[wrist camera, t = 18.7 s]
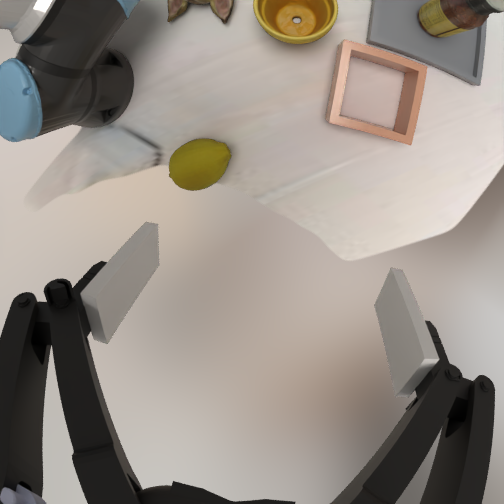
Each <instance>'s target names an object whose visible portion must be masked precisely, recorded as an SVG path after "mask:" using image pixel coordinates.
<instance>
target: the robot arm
mask: <svg viewBox="0 0 504 504" xmlns="http://www.w3.org/2000/svg"><path fill="white" fill-rule="evenodd" d="M139 1H140V0H0V29H9V30H10V31H11V34H12V36H13V39H14V41H15V42H16V43H19V44H22V46H21V48H20V50H19V52H18V54H17V56H16V58H11V59H8V60H7V61H5V62H3V63H2V64H1V65H0V135H1V136H2V137H3V138H4V139H6V140H8V141H11V142H19V141H22V140H25V139H33V138H35V137H37V136H40V135H43V134H45V133H48V132H51V131H54V130H57V129H59V128H63V127H66V126H69V125H72V124H73V125H78V126H82V127H87V128H95V127H100V126H103V125H107V124H109V123H111V122H113V121H114V120H116V119H117V118H118V117H119V116H120V115H121V114H122V113H123V112H124V110H125V109H126V107H127V105H128V103H129V101H130V99H131V96H132V92H133V72H132V69H131V66H130V64H129V62H128V60H127V59H126V58H125V57H124V56H123V55H122V54H121V53H120V52H118V51H116V50H113V49H107V48H105V47H106V46H107V44H108V43H109V42H110V40H111V39H112V37H113V36H114V34H115V33H116V32H117V30H118V29H119V27H120V26H121V25H122V23H123V22H124V21H125V19H126V20H127V19H128V18H129V16H130V13H131V11H132V10H133V9H134V7H135V6H136V5H137V3H138V2H139ZM158 266H159V246H158V224H155V223H149V222H145V223H144V224H143V225H142V226H141V227H140V228H139V229H138V230H137V231H136V232H135V233H134V235H133V236H132V237H131V238H130V239H129V240H128V241H127V242H126V243H125V244H124V245H123V246H122V247H121V248H120V250H119V251H118V252H117V253H116V254H115V255H114V256H113V257H112V258H111V259H110V260H109V261H108V262H103V261H101V262H99V263H97V264H95V265H93V266H92V267H91V269H89V271H88V272H87V273H86V274H85V275H84V276H83V278H81V279H80V280H79V281H78V283H77V284H76V285H75V286H74V287H73V288H72V285H71V283H70V281H68V280H66V279H55V280H53V281H51V282H49V283H48V284H47V285H46V286H45V288H44V294H45V297H46V300H47V302H37V300H36V297H35V295H34V294H33V293H30V292H25V293H22V294H19V295H18V296H17V297H15V298H14V300H13V302H12V304H11V307H10V310H9V312H8V315H7V318H6V321H5V324H4V328H3V330H2V334H1V337H0V504H46V502H45V501H44V500H43V499H42V490H43V461H42V460H43V459H42V437H43V412H44V398H45V387H46V378H47V369H48V362H49V355H50V349H51V345H52V349H53V356H54V363H55V370H56V376H57V382H58V388H59V392H60V397H61V403H62V407H63V411H64V416H65V420H66V424H67V428H68V432H69V435H70V439H71V442H72V446H73V450H74V453H73V455H72V460H73V464H74V467H75V470H76V473H77V476H78V479H79V482H80V485H81V487H82V490H83V492H84V495H85V498H86V500H87V503H88V504H295V502H292V501H279V500H269V499H263V500H252V501H238V502H233V501H229V500H227V499H225V498H223V497H220V496H218V495H216V494H214V493H211V492H209V491H207V490H205V489H203V488H198V487H194V486H190V485H186V484H182V483H178V482H175V481H173V483H172V486H168V485H165V486H155V487H150V488H146V489H144V490H143V489H142V487H141V485H140V483H139V481H138V479H137V477H136V475H135V474H134V472H133V470H132V468H131V466H130V464H129V462H128V459H127V457H126V455H125V452H124V450H123V448H122V445H121V443H120V440H119V438H118V435H117V433H116V430H115V428H114V425H113V422H112V419H111V416H110V413H109V411H108V408H107V405H106V402H105V399H104V396H103V393H102V389H101V386H100V383H99V379H98V376H97V372H96V369H95V365H94V361H93V358H92V354H91V350H90V346H89V341H88V338H87V336H88V334H89V333H90V332H92V335H93V338H94V340H97V341H100V342H102V343H106V344H108V343H109V341H110V339H111V338H112V336H113V334H114V333H115V331H116V330H117V328H118V326H119V325H120V323H121V322H122V320H123V319H124V317H125V316H126V314H127V313H128V311H129V309H130V308H131V306H132V305H133V303H134V302H135V300H136V299H137V297H138V296H139V294H140V293H141V291H142V290H143V288H144V287H145V285H146V284H147V282H148V281H149V279H150V278H151V276H152V275H153V273H154V272H155V270H156V269H157V268H158ZM374 306H375V309H376V313H377V317H378V321H379V325H380V329H381V333H382V337H383V342H384V346H385V350H386V354H387V359H388V363H389V368H390V372H391V378H392V383H393V388H394V394H395V397H409V396H410V395H411V394H412V393H413V392H414V390H415V391H416V395H417V397H416V398H415V399H414V400H413V401H412V402H411V403H410V404H409V406H408V407H407V408H406V410H407V411H406V412H405V414H404V415H403V417H402V418H401V420H400V421H399V422H398V424H397V425H396V427H395V428H394V430H393V431H392V433H391V434H390V435H389V436H388V438H387V439H386V440H385V442H384V443H383V444H382V446H381V447H380V448H379V450H378V451H377V452H376V453H375V455H374V456H373V457H372V458H371V460H370V461H369V462H368V463H367V465H366V466H365V467H364V468H363V469H362V470H361V471H360V473H359V474H358V475H357V476H356V477H355V478H354V480H353V481H352V482H351V483H350V484H349V485H348V486H347V487H346V488H345V489H344V491H342V492H341V494H340V495H339V496H338V497H337V498H336V499H335V500H334V501H333V502H332V503H330V504H395V503H396V501H397V500H398V498H399V497H400V496H401V494H402V493H403V491H404V490H405V488H406V487H407V486H408V484H409V482H410V481H411V480H412V478H413V476H414V475H415V473H416V472H417V470H418V468H419V467H420V465H421V464H422V462H423V460H424V459H425V457H426V455H427V454H428V452H429V450H430V448H431V447H432V445H433V443H434V441H435V439H436V437H437V435H438V434H439V432H440V430H441V428H442V431H441V435H440V439H439V443H438V447H437V451H436V455H435V459H434V462H433V466H432V469H431V472H430V476H429V479H428V482H427V485H426V488H425V491H424V494H423V496H422V499H421V502H420V504H482V499H483V495H484V490H485V485H486V480H487V475H488V469H489V462H490V455H491V447H492V438H493V426H494V408H495V388H494V384H493V382H492V381H491V380H490V379H489V378H488V377H486V376H484V375H479V376H478V377H477V378H476V379H475V380H474V381H471V380H468V379H465V378H463V377H462V373H461V372H460V370H459V369H458V368H457V367H456V366H454V365H452V364H450V363H449V361H448V358H447V355H446V353H445V350H444V347H443V345H442V344H441V340H440V338H439V335H438V332H437V330H436V328H435V327H434V326H433V325H432V323H431V322H430V321H425V320H424V318H423V315H422V313H421V310H420V308H419V306H418V303H417V301H416V298H415V296H414V294H413V292H412V289H411V287H410V285H409V283H408V281H407V278H406V276H405V274H404V272H403V270H401V269H396V268H391V269H390V271H389V273H388V276H387V278H386V280H385V283H384V285H383V287H382V289H381V292H380V294H379V296H378V298H377V300H376V303H375V305H374Z"/></svg>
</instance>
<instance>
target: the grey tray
mask: <svg viewBox="0 0 504 504" xmlns="http://www.w3.org/2000/svg"><path fill="white" fill-rule="evenodd" d="M428 1H430V0H372V5H371V13H370V20H369V28H368V35H367V41H366V43H369V44H373V45H376V46H379V47H382V48H385V49H388V50H391V51H394V52H397V53H400V54H403V55H406V56H408V57H411V58H414V59H416V60H419V61H421V62H424V63H426V64H429V65H431V66H433V67H436V68H438V69H440V70H443V71H445V72H447V73H449V74H451V75H453V76H456V77H458V78H460V79H462V80H464V81H466V82H468V83H470V84H472V85H477V86H480V83H481V77H482V69H483V61H484V52H485V41H486V24H487V19H486V21H485V22H484V23H483V25H482V26H480V27H476V28H474V29H472V30H468V31H465V32H461V33H458V34H455V35H452V36H449V37H441V38H437V37H433V36H431V35H430V34H428V33H427V32H425V31H424V30H423V29H422V27H421V26H420V24H419V20H418V12H419V10H420V8H421V7H422V5H424V4H425V3H427V2H428Z"/></svg>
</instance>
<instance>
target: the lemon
mask: <svg viewBox="0 0 504 504" xmlns="http://www.w3.org/2000/svg"><path fill="white" fill-rule="evenodd" d="M230 153H231V152H230V150H229V149H228V147H227V145H226V144H225V143H221V142H217V141H215V140H212V139H196V140H193V141H190V142H188V143H186V144H184V145H183V146H181V147H180V148H178V149H177V150H176V151H175V152H174V153H173V155H172V156H171V158H170V162H169V171H170V174H169V177H170V178H172V179H173V181H174V182H175V184H176V185H178V186H179V187H180V188H183V189H186V190H192V191H194V190H201V189H205V188H208V187H209V186H211V185H213V184H215V183H216V182H217V181H218V180H219V179H220V178H221V177H222V175H223V174H224V172H225V170H226V168H227V165H228V161H229V159H230V158H231V154H230Z"/></svg>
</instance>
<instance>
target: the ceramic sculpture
mask: <svg viewBox="0 0 504 504" xmlns="http://www.w3.org/2000/svg"><path fill="white" fill-rule="evenodd" d="M188 2H190V3H193V4H206V3H209V2H210V6H211V9H212V11H213V13H215V14H216V15H217V16H218V17H219V18H220V19H221V20H222V22H223V23H224V24H225V23H226V22H227V19H228V17H229V16H230V13H231V11H232V7H233V0H168V13H169V16H168V22H170V21H172V20H173V19H174V18H176V17H177V16H179V15H180V14H181V13H183V12H184V11H185V10H186V9H187V6H188Z"/></svg>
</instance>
